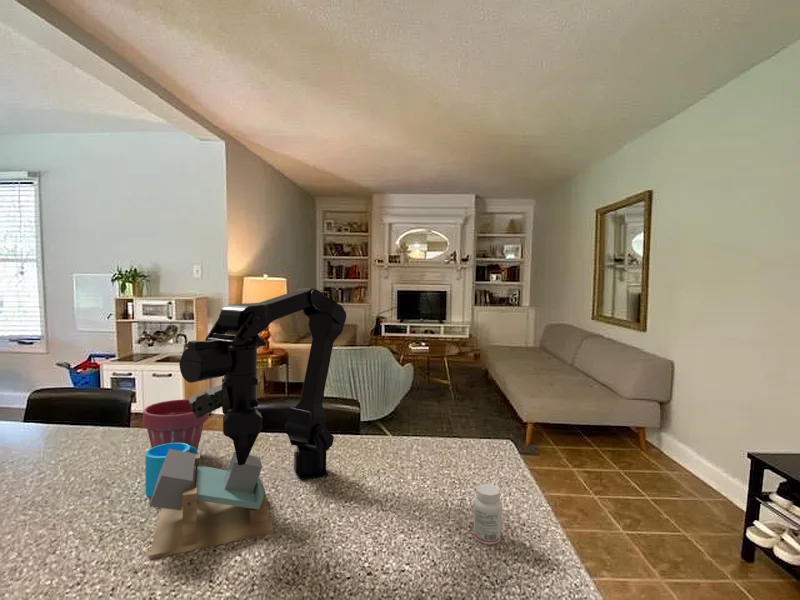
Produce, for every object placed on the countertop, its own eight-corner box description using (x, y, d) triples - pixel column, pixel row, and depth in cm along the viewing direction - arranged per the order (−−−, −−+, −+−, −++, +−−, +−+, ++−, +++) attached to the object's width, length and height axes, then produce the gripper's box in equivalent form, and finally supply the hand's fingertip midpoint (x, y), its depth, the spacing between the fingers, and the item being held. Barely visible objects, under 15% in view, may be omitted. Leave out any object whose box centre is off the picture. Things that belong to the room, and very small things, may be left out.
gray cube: (250, 482, 81) (259, 457, 82) (252, 493, 77) (262, 467, 77) (224, 477, 79) (234, 451, 80) (224, 489, 75) (235, 462, 75)
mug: (167, 501, 82) (167, 460, 82) (135, 494, 85) (135, 454, 84) (211, 475, 94) (211, 439, 93) (182, 469, 96) (183, 434, 96)
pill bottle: (481, 525, 76) (482, 480, 75) (505, 536, 73) (507, 488, 72) (468, 537, 72) (469, 489, 72) (493, 549, 69) (494, 499, 69)
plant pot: (219, 455, 104) (220, 404, 104) (163, 476, 93) (163, 419, 92) (187, 442, 112) (187, 395, 112) (131, 460, 100) (131, 408, 100)
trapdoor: (249, 490, 85) (258, 466, 85) (254, 520, 74) (265, 493, 74) (158, 474, 78) (169, 448, 79) (149, 506, 67) (161, 475, 68)
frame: (262, 486, 89) (262, 444, 88) (273, 532, 72) (273, 481, 72) (163, 503, 81) (163, 457, 81) (149, 559, 65) (149, 502, 64)
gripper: (194, 365, 83) (194, 443, 83) (189, 387, 66) (189, 484, 66) (253, 362, 87) (253, 436, 88) (263, 381, 70) (262, 473, 71)
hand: (240, 454), depth 78 cm, fingers open, 9 cm apart
